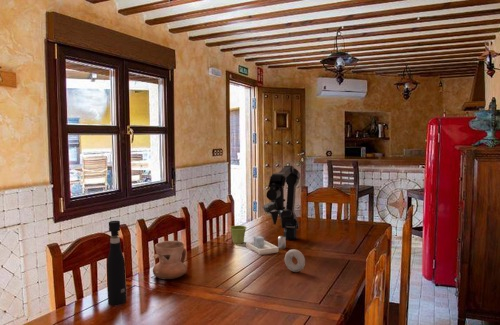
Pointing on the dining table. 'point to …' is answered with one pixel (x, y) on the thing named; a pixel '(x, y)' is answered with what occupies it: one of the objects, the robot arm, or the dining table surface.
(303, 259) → the donut
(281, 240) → the metal cylinder
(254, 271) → the dining table surface
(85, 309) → the dining table surface
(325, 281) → the dining table surface
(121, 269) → the black water bottle
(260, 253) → the parts tray
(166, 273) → the ceramic jug
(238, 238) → the plant pot
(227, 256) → the dining table surface
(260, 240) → the painted block
